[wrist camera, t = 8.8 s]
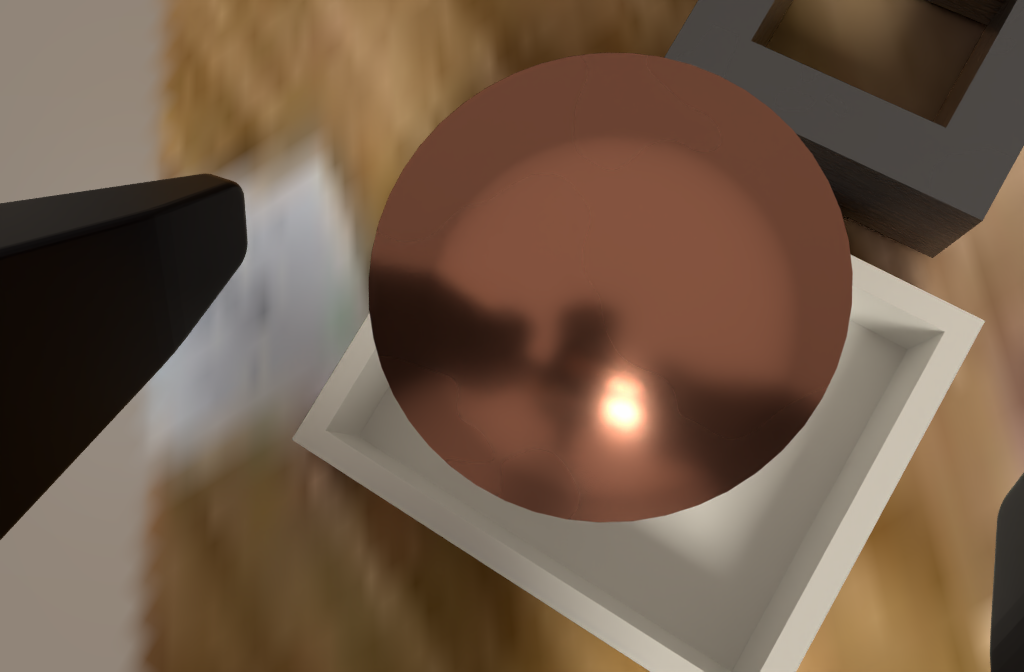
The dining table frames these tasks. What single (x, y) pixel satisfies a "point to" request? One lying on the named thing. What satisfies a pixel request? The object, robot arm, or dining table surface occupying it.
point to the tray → (694, 531)
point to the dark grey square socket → (883, 119)
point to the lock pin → (610, 287)
